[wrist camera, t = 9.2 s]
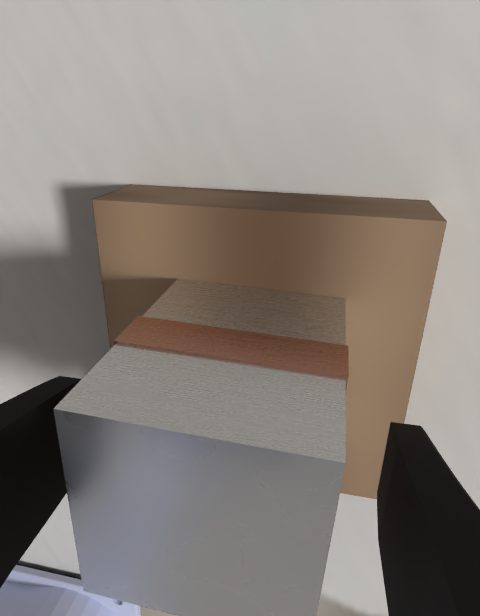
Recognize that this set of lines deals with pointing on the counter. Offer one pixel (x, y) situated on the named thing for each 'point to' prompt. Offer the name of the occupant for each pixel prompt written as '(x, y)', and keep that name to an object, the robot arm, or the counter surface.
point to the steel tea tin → (211, 452)
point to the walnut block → (290, 278)
